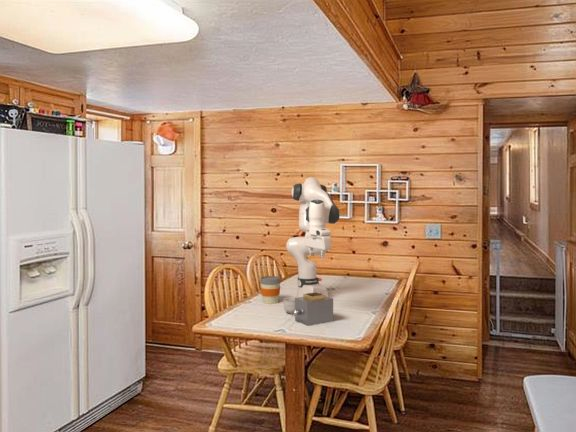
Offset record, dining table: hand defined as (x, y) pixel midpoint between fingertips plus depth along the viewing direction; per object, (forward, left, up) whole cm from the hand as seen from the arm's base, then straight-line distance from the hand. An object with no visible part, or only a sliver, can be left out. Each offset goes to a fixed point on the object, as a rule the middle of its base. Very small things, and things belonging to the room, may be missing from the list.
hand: (317, 256), depth 274 cm
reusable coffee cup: (+4, -45, -33) cm, 56 cm away
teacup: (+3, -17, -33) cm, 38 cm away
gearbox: (+5, +3, -33) cm, 34 cm away
